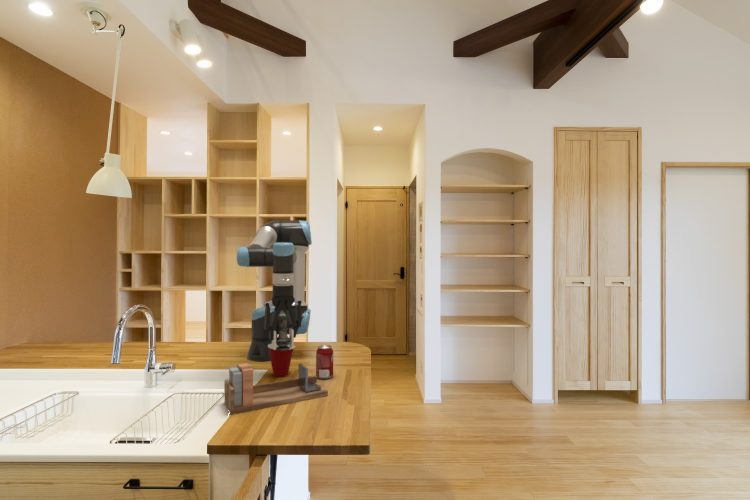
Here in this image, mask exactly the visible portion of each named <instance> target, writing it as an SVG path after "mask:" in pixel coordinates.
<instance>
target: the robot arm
mask: <svg viewBox="0 0 750 500" xmlns="http://www.w3.org/2000/svg"><path fill="white" fill-rule="evenodd" d="M311 245H312V233H311V225H310V223H309V222H308V221H307V220H300V219H299V220H297V219H296V220H295V219H294V220H292V219H291V220H285V219H284V220H281V219H276V220H271V221H268V222H266V223H264V224H262V225H261V226H260V227H259V228H258V229H257V230H256V232H255V237H254V238H253V240H252V241H251V242H250V244H249V246H248V247H247V246H241V247H239V248H238V249H237V252H236V262H237V265H238V266H240V267H244V268H245V267H246V268H250V267H251V268H257V267H259V268H265V267H266V268H272V297H271V299H270V301H265V302H263V307H258V308H255V309H254V310H252V312H251V342H250V345H249V348H248V350H247V356H246V357H247V360H249V361H253V362H269V361H270V362H271V357H270V351H269V348H268V345H269V344H272V349H274V350H276V338H278V335H279V330H278V328H279V320H280V319H282V317H284V319H286V320H287V328H288V329H287V335H288V337H289V338H291V340H290V343H289V346H290V347H294V346H295V344H294V343H295V341H294V340H295V339H294V338H296V337H297V335H304V334H306V333H308V331H309V327H310V326H309V325H310V320H311V311H312V310H311V309H310V308H308V304H307V303H306V301H305V289H306V288H305V285H306V284H305V281H306V280H305V279H306V252H307V251H308V250H309V247H310V246H311ZM271 246H272V247H271Z"/></svg>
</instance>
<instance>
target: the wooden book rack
mask: <svg viewBox="0 0 750 500" xmlns="http://www.w3.org/2000/svg"><path fill="white" fill-rule="evenodd" d="M313 382H314V383H315V384H316V385H318V386H319V387H320V388H321V390H316V391H310V392H304V391H303V390H302V389H301V388H300V387H299V386H298V377H297V378H292V379H291V378H290V379H285V380H280V381H273V382H267V383H260V384H255V385H254V368H252V366H250V364H249V363H248V362H246V361H245V362H239V363H237V364H236V366H232V367H229V368H228V378H226V379H224V395H223V396H224V397H223V401H224V405H225V406H226V408H227V410H228V412H229V413H230V415H234V414H233V413H237V414H241V412H242V413H246V412H251V411H255V410H257V411H258V410H262V409H266V408H272V407H277V406H281V405H287V404H292V403H297V402H302V401H308V400H312V399H318V398H323V397H328V396H329V391H328V390H327V389H326V388H324V387H323V386H322V385H320V384H319V383H318V377H317V376H316V374H315V375H310V376H309V375H308V383H313Z"/></svg>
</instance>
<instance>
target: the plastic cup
mask: <svg viewBox="0 0 750 500" xmlns="http://www.w3.org/2000/svg"><path fill="white" fill-rule="evenodd" d="M287 346H288V347H290V346H289V345H287ZM277 347H279V346H278V345H277V344H276V348H277ZM268 348H269V351H270V357H271V361H270V363H271V368H272V375H273V376H274V377H277V378H282V377H283V378H284V377H288V375H289V373H290V367H291V364H292V363H291V361H292V357H293V356H292V355H293V353H294V351H295V349H296V345H294V347H290V349H289V350H285V351H278V350H274V349H272V344H269V345H268Z"/></svg>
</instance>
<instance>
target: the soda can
mask: <svg viewBox="0 0 750 500" xmlns="http://www.w3.org/2000/svg"><path fill="white" fill-rule="evenodd" d="M332 347H333V346H332V345H330V344H322V345H318V346H317V349H316V351H315V375H316V376H317V379H320V380H328V379H330V378H332V377H333V376H334V349H333V348H332Z"/></svg>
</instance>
